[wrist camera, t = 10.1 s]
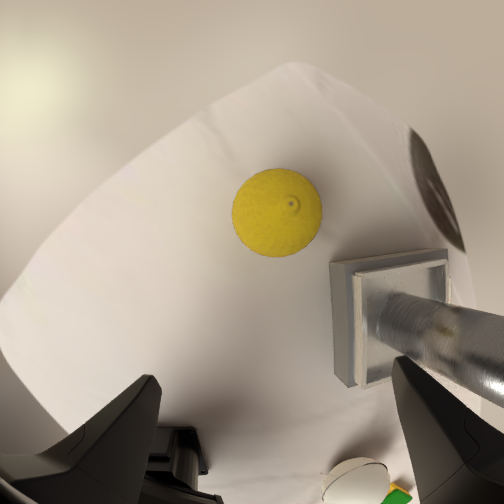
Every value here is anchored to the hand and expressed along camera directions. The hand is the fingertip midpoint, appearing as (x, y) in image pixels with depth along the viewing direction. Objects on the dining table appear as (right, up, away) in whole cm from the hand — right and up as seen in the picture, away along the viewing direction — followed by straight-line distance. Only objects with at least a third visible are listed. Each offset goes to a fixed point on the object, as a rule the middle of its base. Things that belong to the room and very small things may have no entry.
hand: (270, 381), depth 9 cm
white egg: (+9, -19, +14) cm, 25 cm away
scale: (+12, -1, +14) cm, 18 cm away
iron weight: (+11, -1, +10) cm, 15 cm away
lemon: (0, +7, +13) cm, 15 cm away
